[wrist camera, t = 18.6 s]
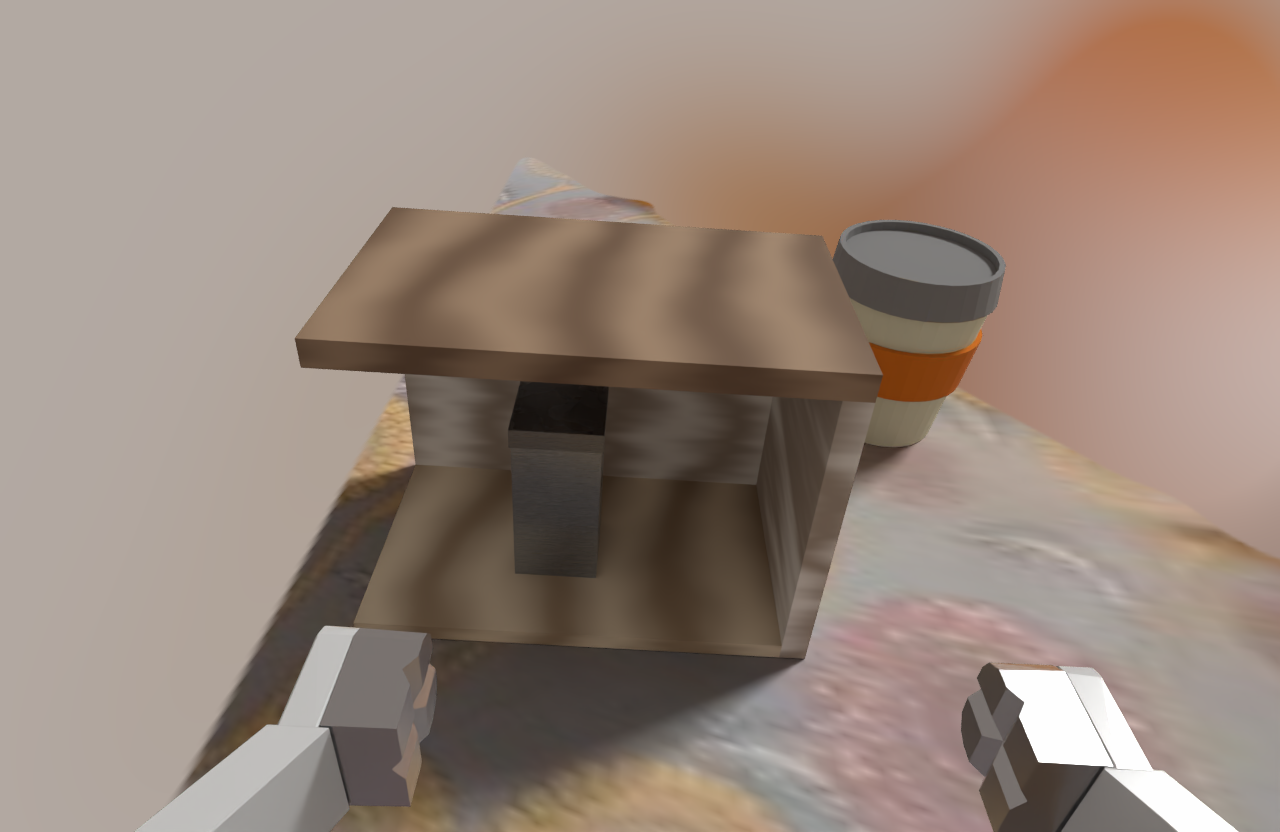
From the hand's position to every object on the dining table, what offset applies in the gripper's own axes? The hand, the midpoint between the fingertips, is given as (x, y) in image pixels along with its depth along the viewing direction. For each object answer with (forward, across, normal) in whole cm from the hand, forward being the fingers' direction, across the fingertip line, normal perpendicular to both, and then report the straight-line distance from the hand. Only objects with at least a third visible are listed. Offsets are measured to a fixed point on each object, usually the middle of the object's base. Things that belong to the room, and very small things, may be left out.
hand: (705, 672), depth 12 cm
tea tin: (+30, +5, +27) cm, 41 cm away
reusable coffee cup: (+49, -20, +28) cm, 60 cm away
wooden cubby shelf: (+31, +3, +28) cm, 42 cm away
